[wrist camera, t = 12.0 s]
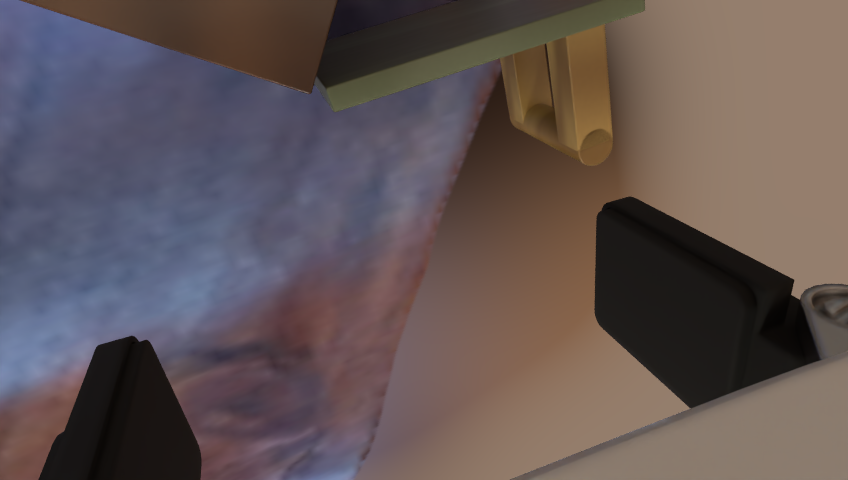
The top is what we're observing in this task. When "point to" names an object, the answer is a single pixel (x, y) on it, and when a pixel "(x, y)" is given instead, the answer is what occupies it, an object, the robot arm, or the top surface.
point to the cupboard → (222, 31)
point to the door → (486, 41)
